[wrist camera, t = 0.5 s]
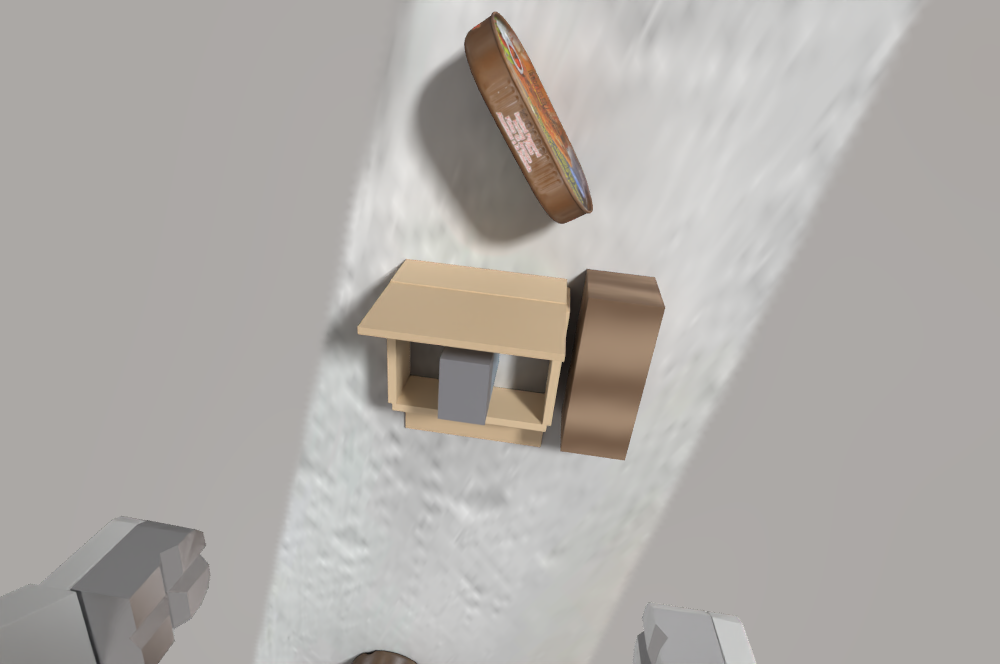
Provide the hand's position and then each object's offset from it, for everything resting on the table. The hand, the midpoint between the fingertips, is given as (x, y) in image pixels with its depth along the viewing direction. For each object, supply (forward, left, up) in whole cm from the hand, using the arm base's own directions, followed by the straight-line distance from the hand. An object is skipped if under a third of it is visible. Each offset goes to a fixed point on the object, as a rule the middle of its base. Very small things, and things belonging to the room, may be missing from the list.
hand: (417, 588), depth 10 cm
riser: (+17, +8, -39) cm, 44 cm away
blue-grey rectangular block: (+17, -4, -39) cm, 43 cm away
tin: (-3, -1, -40) cm, 40 cm away
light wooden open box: (+20, -4, -39) cm, 44 cm away
